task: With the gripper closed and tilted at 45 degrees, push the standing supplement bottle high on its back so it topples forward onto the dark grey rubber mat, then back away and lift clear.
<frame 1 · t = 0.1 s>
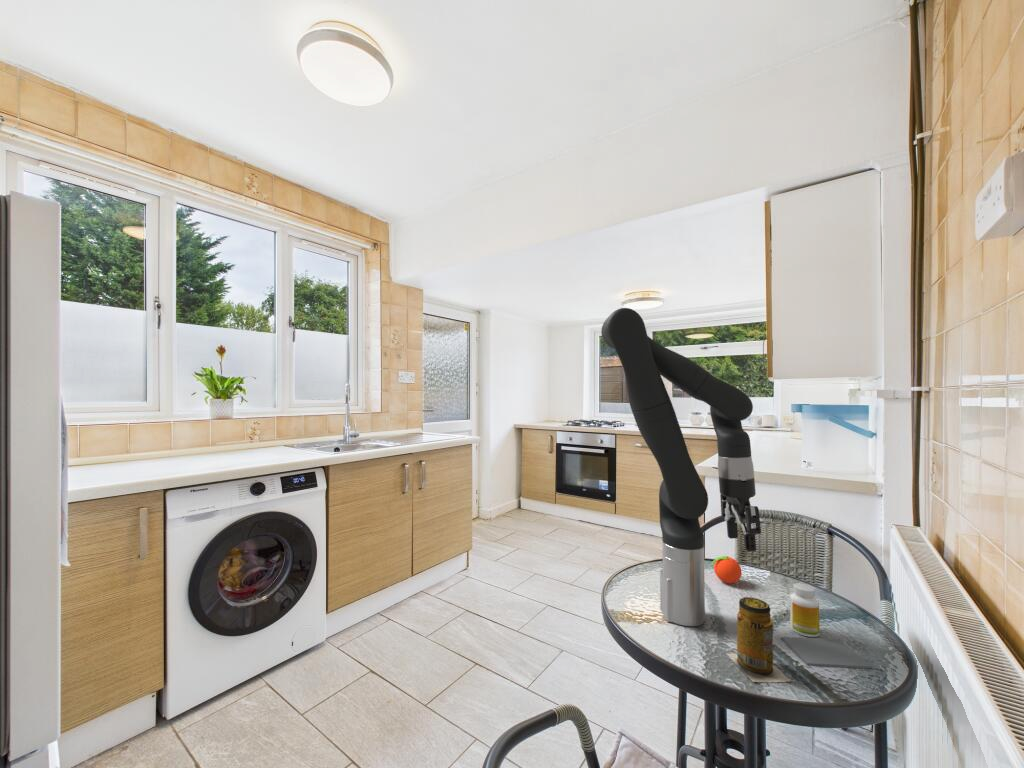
hand: (741, 544, 99), 17 cm above the table, tool pointing down, fingers open, 8 cm apart
condiment: (757, 668, 81), on the table
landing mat: (823, 652, 85), on the table
supplement bottle: (804, 632, 93), on the table
clementine: (725, 582, 118), on the table
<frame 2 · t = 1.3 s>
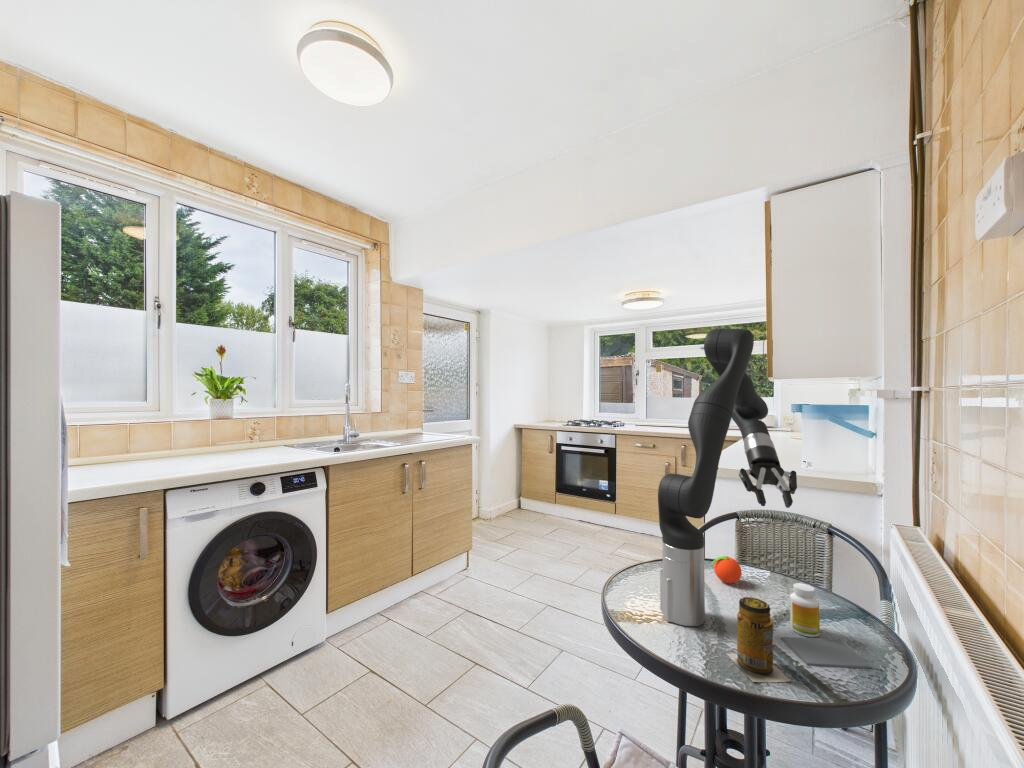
hand: (776, 505, 108), 24 cm above the table, tool tilted 45°, fingers open, 5 cm apart
nothing on the table moved.
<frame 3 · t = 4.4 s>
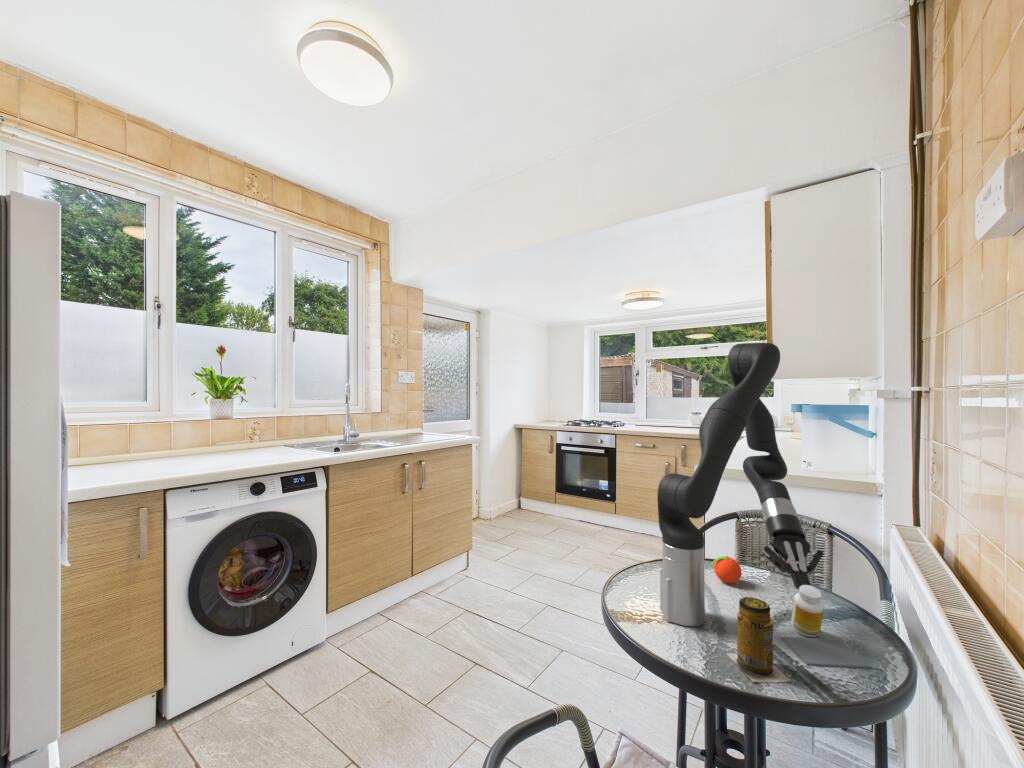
hand: (804, 590, 94), 9 cm above the table, tool tilted 45°, fingers closed
supplement bottle: (804, 628, 93), on the table, touching gripper
everything else where it was.
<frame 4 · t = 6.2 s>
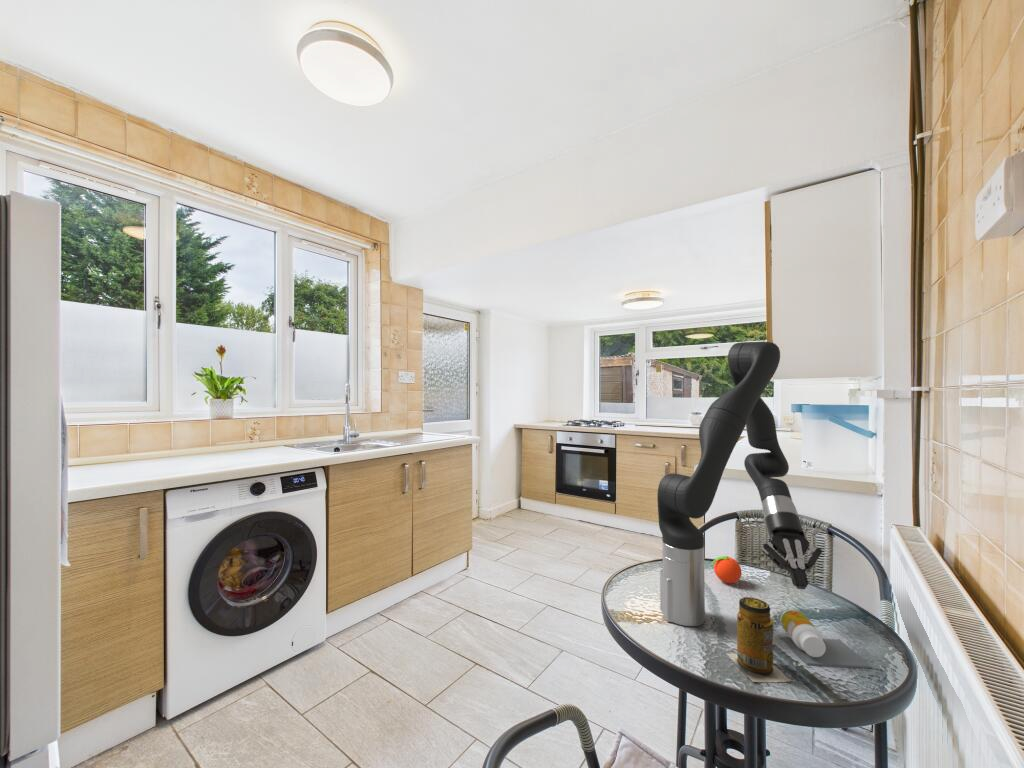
hand: (802, 587, 95), 9 cm above the table, tool tilted 45°, fingers closed
supplement bottle: (793, 620, 92), point 3 cm above the table, touching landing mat
everything else where it was.
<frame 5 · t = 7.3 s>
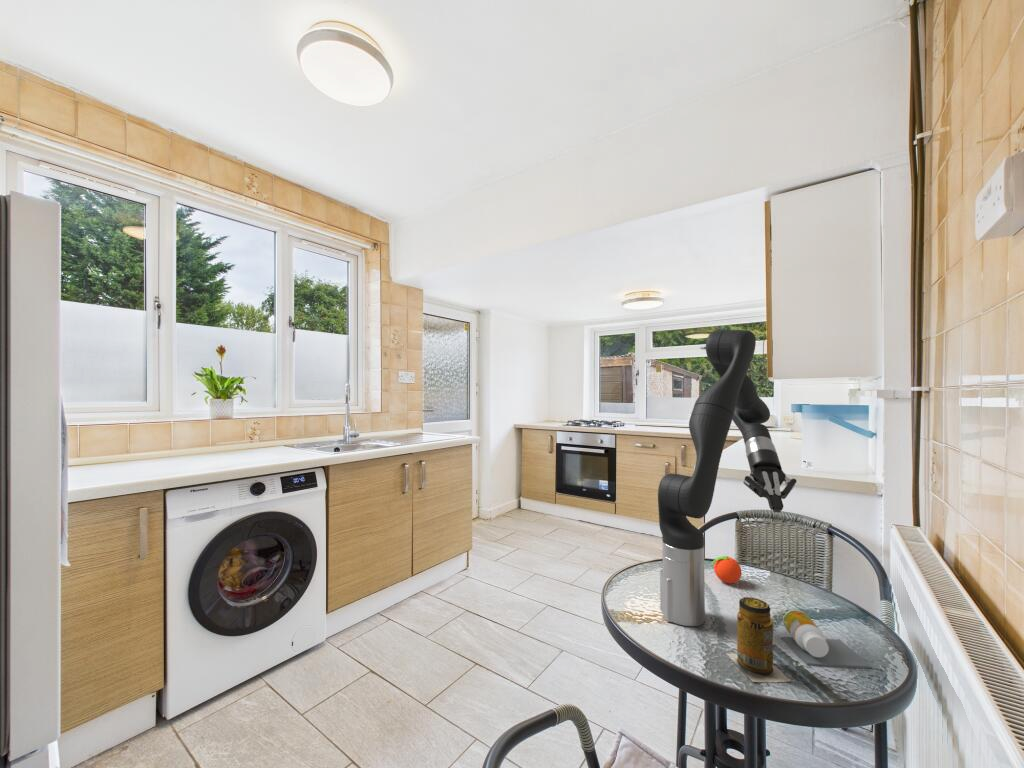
hand: (777, 510, 107), 23 cm above the table, tool tilted 45°, fingers closed
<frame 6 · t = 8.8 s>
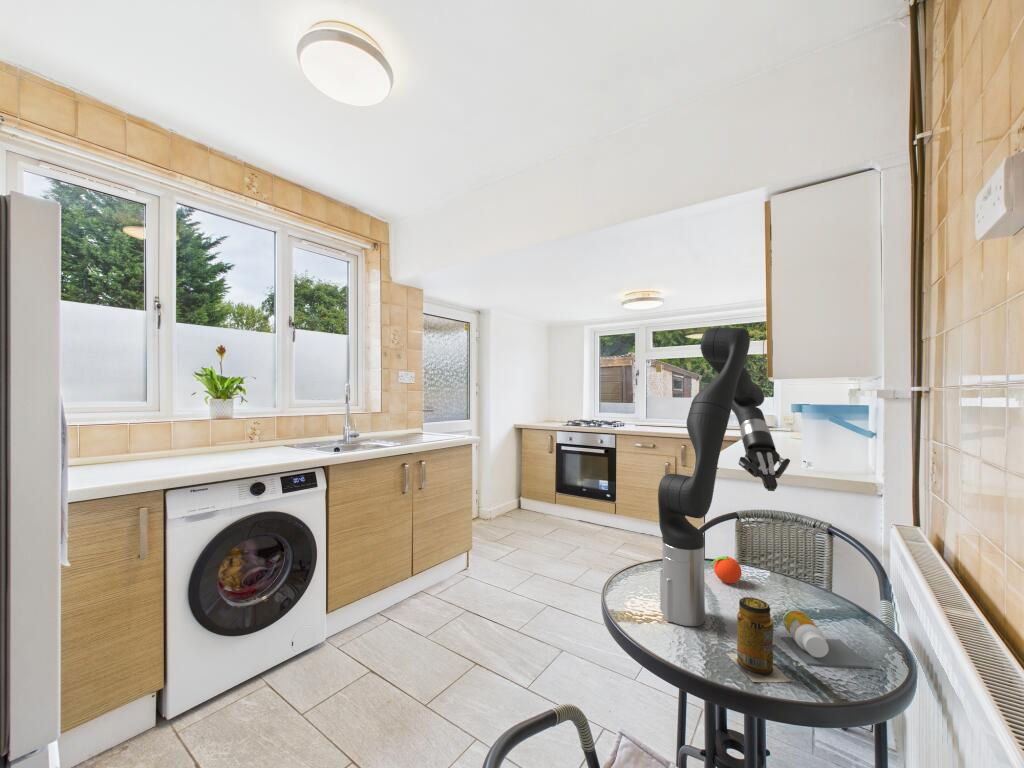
hand: (772, 489, 110), 28 cm above the table, tool tilted 45°, fingers closed
nothing on the table moved.
at the end: supplement bottle tilted 90°; supplement bottle touching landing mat; supplement bottle inside the target area (4.0 cm from its centre), point 3.1 cm above the table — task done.
